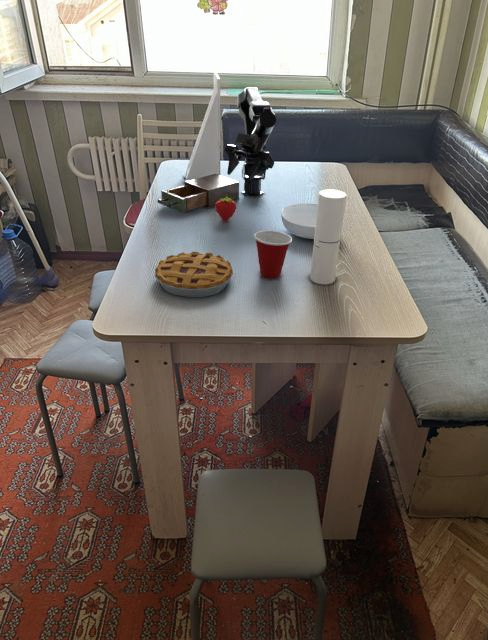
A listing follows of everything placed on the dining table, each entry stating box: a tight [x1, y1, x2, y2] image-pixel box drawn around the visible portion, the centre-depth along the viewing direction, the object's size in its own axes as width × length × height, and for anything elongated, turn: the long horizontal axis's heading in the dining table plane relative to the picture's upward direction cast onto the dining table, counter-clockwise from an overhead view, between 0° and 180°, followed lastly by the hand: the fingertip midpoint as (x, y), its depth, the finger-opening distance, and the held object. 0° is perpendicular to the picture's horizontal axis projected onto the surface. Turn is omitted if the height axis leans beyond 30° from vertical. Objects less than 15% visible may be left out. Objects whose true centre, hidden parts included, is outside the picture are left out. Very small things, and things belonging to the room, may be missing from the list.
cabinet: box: [184, 174, 240, 209], centre depth 202 cm, size 16×13×7 cm
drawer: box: [157, 184, 208, 214], centre depth 194 cm, size 20×12×5 cm, turn 138°
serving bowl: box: [280, 202, 318, 240], centre depth 179 cm, size 21×21×7 cm
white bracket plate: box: [183, 70, 221, 182], centre depth 211 cm, size 20×14×40 cm
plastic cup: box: [253, 230, 293, 280], centre depth 151 cm, size 11×11×12 cm
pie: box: [154, 251, 235, 298], centre depth 147 cm, size 22×22×5 cm
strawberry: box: [214, 196, 237, 223], centre depth 183 cm, size 6×8×10 cm
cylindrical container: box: [309, 188, 347, 285], centre depth 146 cm, size 7×7×25 cm
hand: (238, 176), depth 184 cm, fingers open, 9 cm apart
